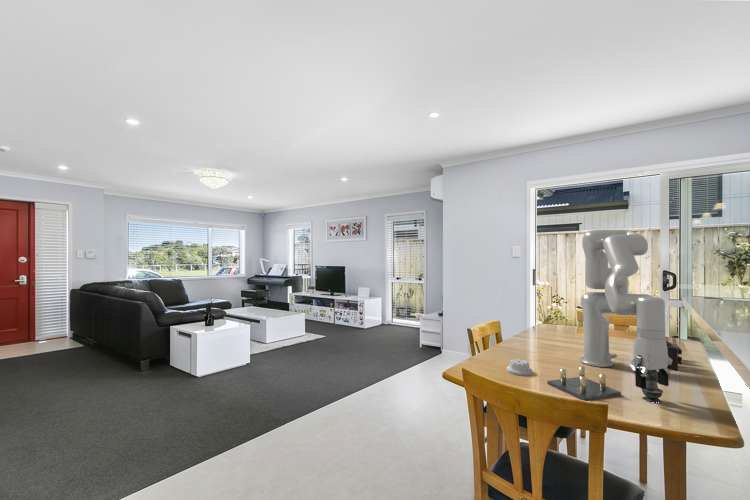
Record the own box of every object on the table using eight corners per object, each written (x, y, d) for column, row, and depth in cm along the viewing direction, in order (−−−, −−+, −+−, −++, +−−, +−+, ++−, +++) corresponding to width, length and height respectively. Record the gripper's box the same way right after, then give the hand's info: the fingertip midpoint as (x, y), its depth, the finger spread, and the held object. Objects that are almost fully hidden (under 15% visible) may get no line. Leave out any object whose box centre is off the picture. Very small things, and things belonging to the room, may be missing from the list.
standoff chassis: (581, 379, 136) (581, 363, 136) (620, 395, 121) (620, 377, 121) (547, 384, 132) (547, 367, 132) (583, 400, 116) (583, 381, 116)
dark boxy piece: (646, 360, 161) (645, 321, 161) (678, 365, 154) (677, 324, 154) (643, 368, 150) (642, 326, 150) (677, 374, 142) (676, 329, 143)
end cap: (658, 356, 167) (658, 342, 168) (678, 359, 164) (677, 344, 164) (661, 362, 159) (661, 347, 159) (682, 364, 155) (681, 349, 155)
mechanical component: (508, 375, 142) (535, 377, 140) (508, 364, 142) (534, 365, 140) (504, 367, 152) (529, 369, 150) (504, 357, 152) (529, 358, 150)
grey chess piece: (658, 398, 118) (658, 362, 119) (666, 405, 113) (666, 367, 113) (638, 395, 120) (637, 360, 121) (644, 402, 115) (644, 365, 115)
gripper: (658, 330, 123) (659, 380, 123) (620, 333, 118) (621, 385, 118) (682, 335, 116) (683, 387, 115) (642, 338, 111) (643, 393, 111)
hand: (652, 386), depth 117 cm, fingers open, 9 cm apart
